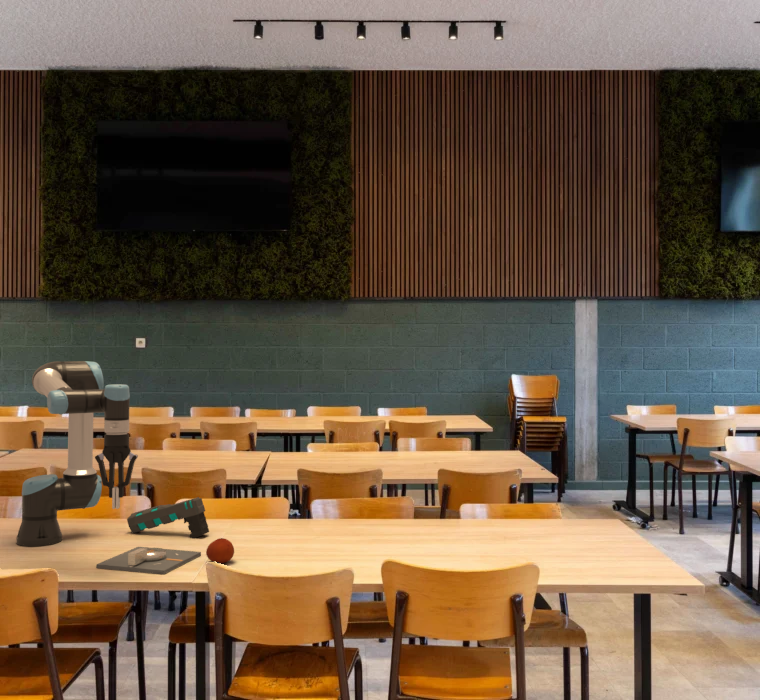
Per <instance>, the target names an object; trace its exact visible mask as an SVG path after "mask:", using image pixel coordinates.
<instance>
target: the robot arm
mask: <svg viewBox="0 0 760 700" xmlns="http://www.w3.org/2000/svg"><path fill="white" fill-rule="evenodd" d="M103 375H104V374H103V371H102V368H101V365H100V364H99V363H98V362H96V361H86V360H81V361H77V360H75V361H73V360H72V361H59V360H58V361H57V360H56V361H51V362H47V363H45V364H42V365H41V366H39V367H38V368H37V369H35V371H34V372H33V375H32V378H31V383H32V387H33V388H34V390H35V391H36V392H37V393H39V395H42V396H45V397H46V398H47V399H46V400H47V401H46V404H47V406H46V407H47V409H48V412H49V414H53V415H66V414H67V415H68V428H67V429H68V431H67V468H66V469H65V470H63V473H62V477H58V475H57V474H54V473H51V474H42V475H36V476H32V477H30V478H27V479H25V480H24V482H23V483H22V487H21V488H22V489H21V499H22V500H21V523H20V526H19V529H18V533H17V535H16V537H15V538H16V541H15V542H16V544H17V545H19V546H22V547H41V546H49V545H54V544H57V543H60V542H62V541H63V533H62V531H61V527H60V525H59V521H58V511H59V512H60V511H67V510H77V509H86V508H87V509H88V508H94V507H95V506H97V505H98V503H99V502H100V500H101V496H102V489H103V488H102V487H103V486H105V487H108V497H109V499H111V501H112V505H111V508H112V510H115V509H116V510H118V509H120V508H121V498H124V490H125V487H126V486H129V485H130V483H131V479H132V474H133V469H134V466H135V462H136V460H137V459H138V457H139V455H138V454H135V453H133V452H131V448H130V434H129V432H130V398H131V394H130V393H131V392H130V386H129V385H128V384H123V383H122V384H119V383H118V384H117V383H116V384H115V383H114V384H107V385H104V382H105V381H104V376H103ZM95 413H96V414H98V413H101V414H102V413H104V422H103V424H104V428H103V431H104V435H103V437H104V438H103V449H102V451H101V453H99V454H97V455H96V456H95V457H93V451H94V450H93V449H94V414H95ZM127 458H128V459H129V462H128V466H127V471H126V475H125V474H124V473H125V472H124V469H125V466H124V465H125V461H126V460H127ZM93 459H95V461H96V462H97V465H98V469H99V473H100V475H99V474H97V472H98V471H97V470H96V469H95V467H93ZM105 459H106V460H107V462H108V466H109V467H108V475H107V470H106V466H105V462H104V460H105ZM116 463H117V474H118V475H117V476H118V479H117V480H118V485H117V486H115V467H116ZM124 477H125V478H124Z"/></svg>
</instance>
